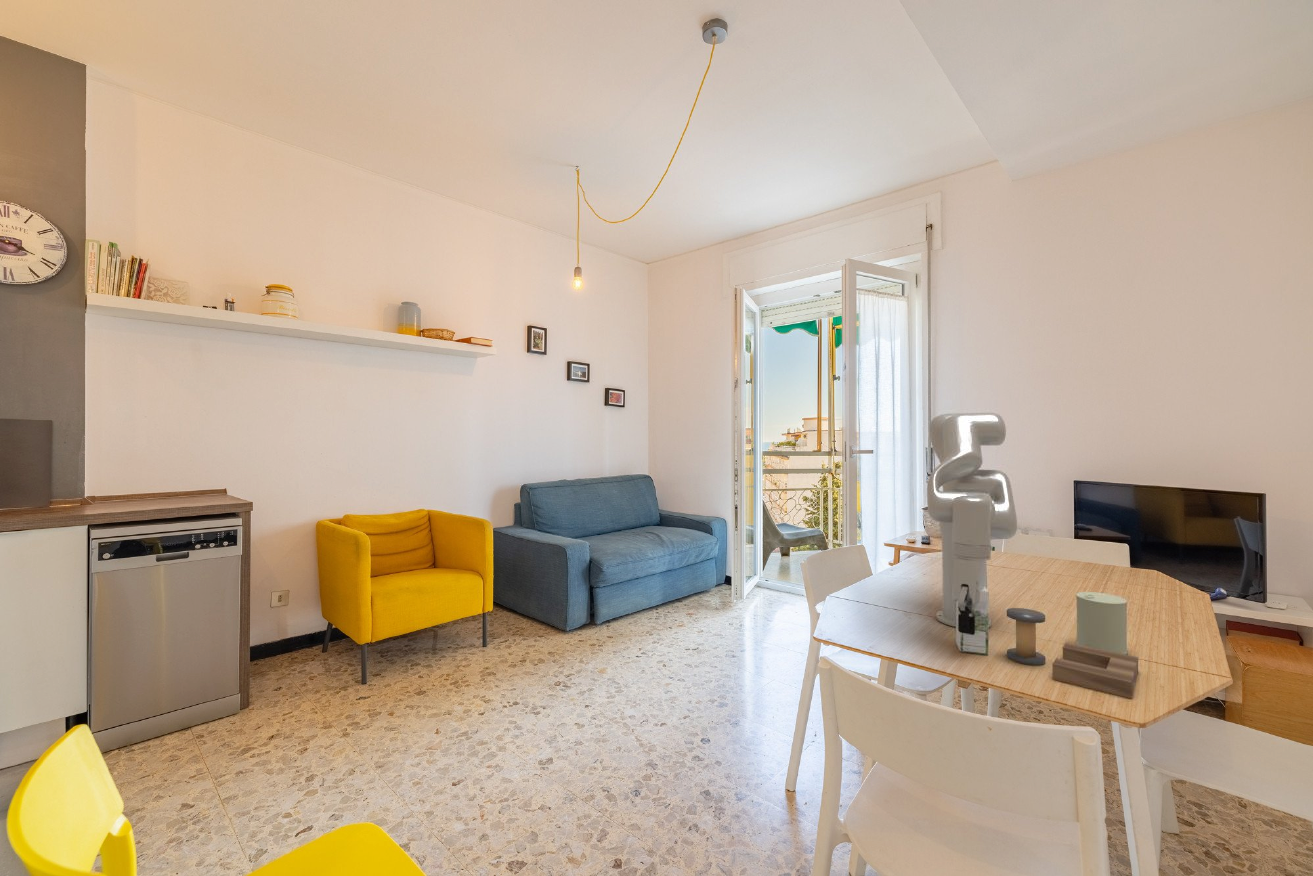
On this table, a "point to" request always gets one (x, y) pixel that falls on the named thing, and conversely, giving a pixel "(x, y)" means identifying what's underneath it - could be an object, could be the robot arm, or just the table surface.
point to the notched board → (1097, 669)
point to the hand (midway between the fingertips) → (971, 628)
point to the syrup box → (976, 627)
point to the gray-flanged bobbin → (1026, 636)
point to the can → (1102, 621)
